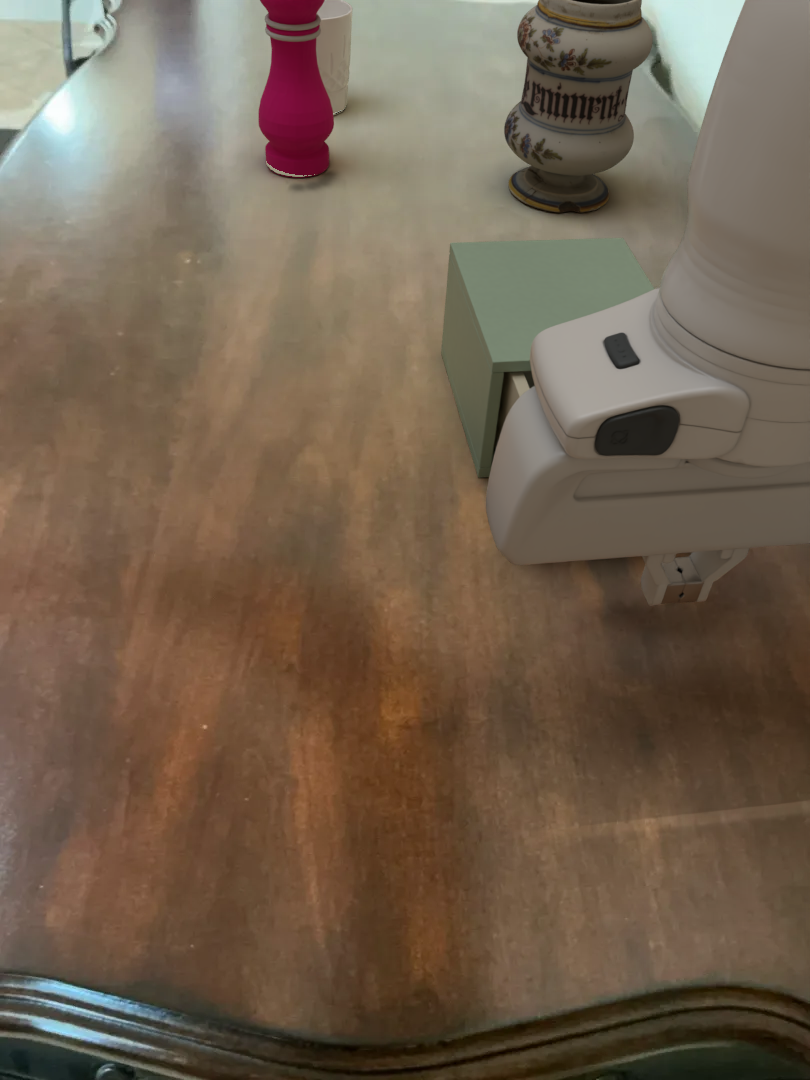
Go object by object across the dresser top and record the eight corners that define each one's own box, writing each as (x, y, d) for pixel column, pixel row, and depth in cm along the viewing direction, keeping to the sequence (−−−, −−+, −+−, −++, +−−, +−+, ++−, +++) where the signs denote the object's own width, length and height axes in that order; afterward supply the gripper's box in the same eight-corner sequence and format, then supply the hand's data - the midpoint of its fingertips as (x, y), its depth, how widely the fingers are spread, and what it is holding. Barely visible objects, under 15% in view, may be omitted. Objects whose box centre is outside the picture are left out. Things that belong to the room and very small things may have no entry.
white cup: (359, 117, 106) (361, 17, 99) (288, 122, 104) (284, 20, 97) (342, 90, 111) (342, -7, 104) (274, 94, 109) (269, -4, 102)
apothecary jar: (517, 223, 90) (546, 10, 77) (483, 167, 98) (504, -34, 85) (639, 216, 92) (687, 7, 79) (596, 162, 100) (633, -35, 88)
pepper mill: (293, 143, 100) (284, -82, 86) (348, 163, 97) (349, -67, 83) (245, 166, 96) (228, -67, 82) (302, 187, 93) (295, -51, 79)
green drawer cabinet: (660, 466, 66) (695, 352, 59) (477, 478, 64) (493, 361, 57) (599, 345, 76) (623, 237, 69) (440, 352, 74) (450, 242, 68)
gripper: (942, 317, 43) (833, 537, 53) (496, 335, 41) (467, 564, 50) (1025, 401, 39) (889, 624, 49) (531, 428, 36) (491, 659, 46)
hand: (671, 594), depth 50 cm, fingers closed
